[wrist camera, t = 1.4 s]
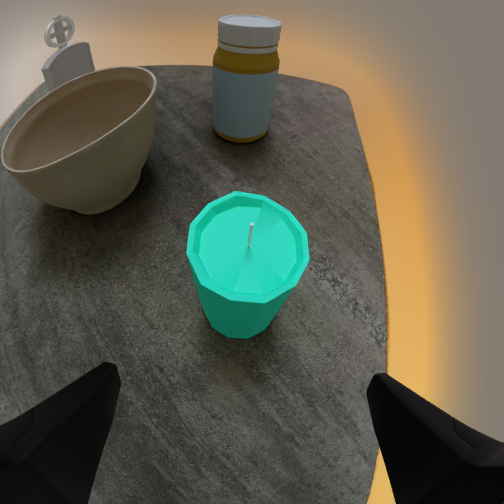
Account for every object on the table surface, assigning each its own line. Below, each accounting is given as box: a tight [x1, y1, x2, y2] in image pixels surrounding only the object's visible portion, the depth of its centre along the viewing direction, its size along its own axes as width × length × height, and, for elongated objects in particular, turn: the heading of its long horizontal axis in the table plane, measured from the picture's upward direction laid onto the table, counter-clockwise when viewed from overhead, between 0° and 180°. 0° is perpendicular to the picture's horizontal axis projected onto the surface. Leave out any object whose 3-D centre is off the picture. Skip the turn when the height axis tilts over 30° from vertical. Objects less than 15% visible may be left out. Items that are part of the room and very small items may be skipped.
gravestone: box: [42, 15, 95, 92], centre depth 28 cm, size 3×9×18 cm, turn 156°
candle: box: [186, 191, 309, 339], centre depth 17 cm, size 6×6×12 cm
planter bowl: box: [1, 66, 157, 214], centre depth 22 cm, size 16×16×11 cm
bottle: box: [213, 15, 281, 143], centre depth 26 cm, size 7×7×15 cm
